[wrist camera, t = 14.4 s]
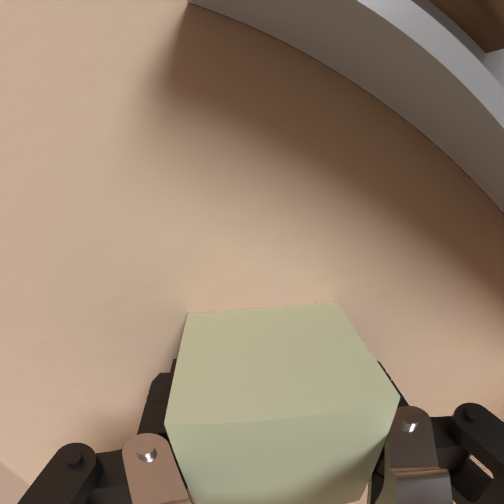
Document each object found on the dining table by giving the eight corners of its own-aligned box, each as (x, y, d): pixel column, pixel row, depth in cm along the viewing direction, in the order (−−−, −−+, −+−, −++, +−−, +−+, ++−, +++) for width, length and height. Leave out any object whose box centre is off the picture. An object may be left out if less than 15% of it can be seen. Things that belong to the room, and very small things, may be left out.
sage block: (335, 301, 11) (400, 396, 6) (325, 405, 12) (359, 499, 7) (187, 312, 10) (163, 423, 6) (205, 416, 12) (202, 518, 7)
